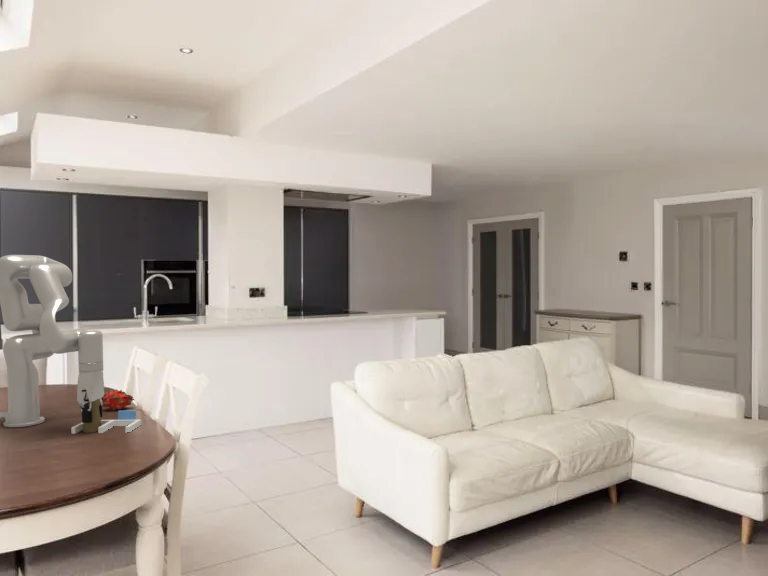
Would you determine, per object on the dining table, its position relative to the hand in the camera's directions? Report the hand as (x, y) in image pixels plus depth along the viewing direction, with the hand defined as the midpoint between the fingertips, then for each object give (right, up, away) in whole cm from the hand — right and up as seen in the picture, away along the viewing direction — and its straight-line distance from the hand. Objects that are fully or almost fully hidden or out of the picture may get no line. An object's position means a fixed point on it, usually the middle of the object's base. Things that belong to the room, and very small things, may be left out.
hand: (92, 419), depth 205 cm
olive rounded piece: (0, -4, 0) cm, 4 cm away
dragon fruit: (-5, -3, +32) cm, 32 cm away
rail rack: (+5, -4, +1) cm, 6 cm away
